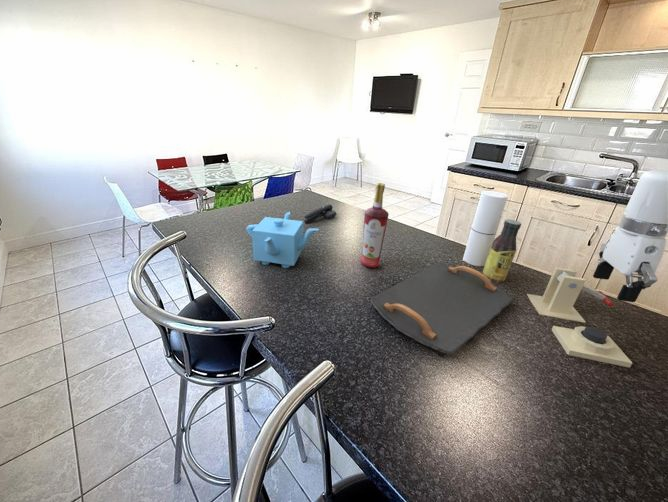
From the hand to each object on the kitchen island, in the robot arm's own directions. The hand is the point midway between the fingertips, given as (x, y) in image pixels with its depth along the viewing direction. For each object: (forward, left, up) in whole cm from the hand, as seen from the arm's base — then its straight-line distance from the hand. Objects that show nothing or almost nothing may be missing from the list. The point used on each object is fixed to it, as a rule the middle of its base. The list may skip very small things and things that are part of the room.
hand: (612, 288), depth 73 cm
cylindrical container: (+22, -24, -10) cm, 34 cm away
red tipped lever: (+6, -1, -2) cm, 6 cm away
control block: (+11, +13, -9) cm, 19 cm away
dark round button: (+11, +13, -6) cm, 17 cm away
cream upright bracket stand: (+10, -1, -9) cm, 13 cm away
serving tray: (+40, +3, -10) cm, 41 cm away
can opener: (+79, -53, -10) cm, 96 cm away
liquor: (+58, -16, -10) cm, 61 cm away
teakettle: (+88, -14, -10) cm, 89 cm away
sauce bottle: (+20, -14, -10) cm, 26 cm away
